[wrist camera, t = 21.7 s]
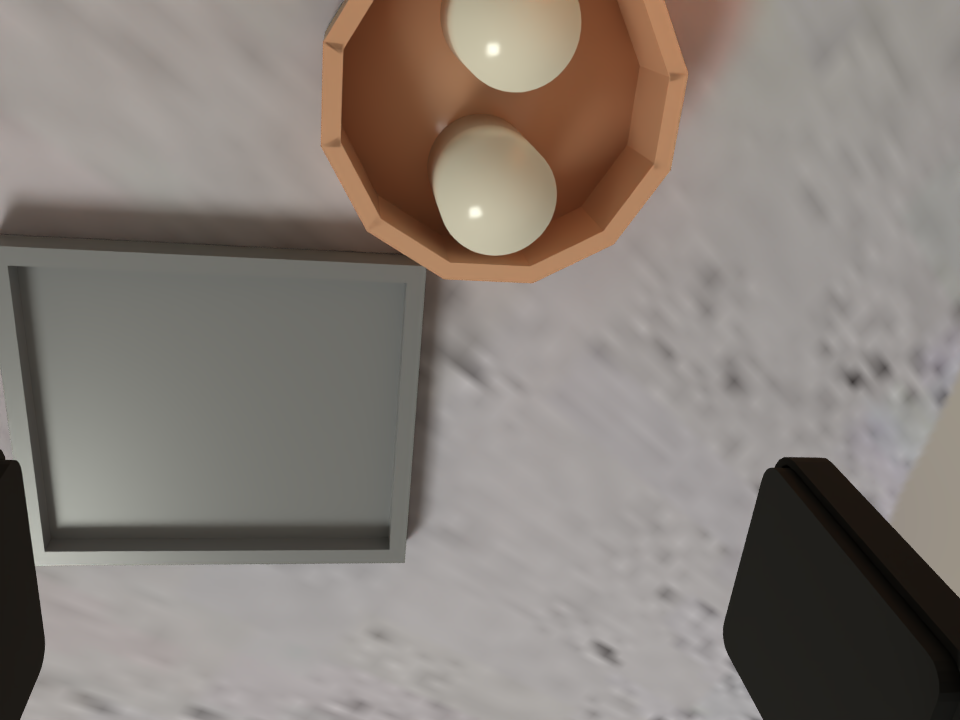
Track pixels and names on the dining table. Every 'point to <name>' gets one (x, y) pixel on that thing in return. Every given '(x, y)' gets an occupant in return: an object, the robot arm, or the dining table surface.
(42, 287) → the parts tray
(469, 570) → the dining table surface
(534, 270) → the bowl
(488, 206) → the pebble
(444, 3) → the pebble
